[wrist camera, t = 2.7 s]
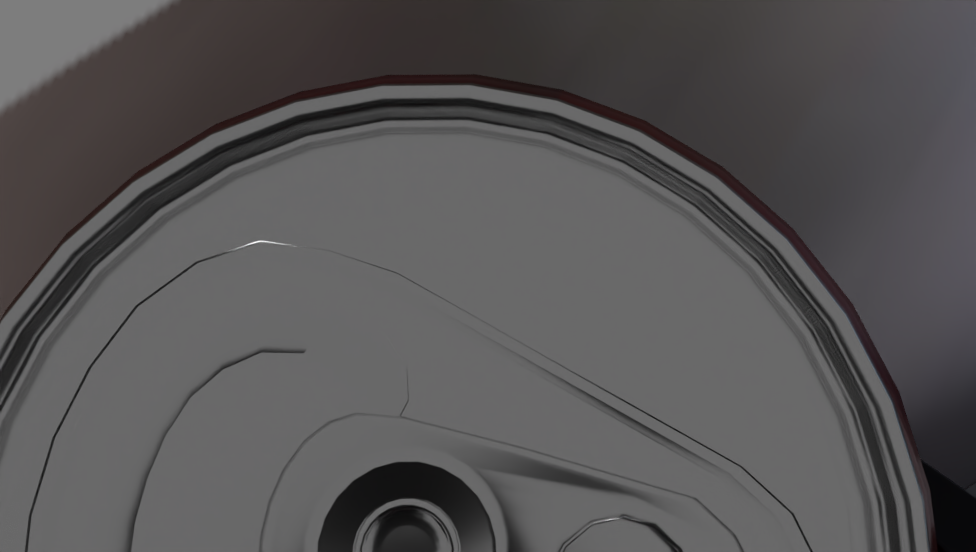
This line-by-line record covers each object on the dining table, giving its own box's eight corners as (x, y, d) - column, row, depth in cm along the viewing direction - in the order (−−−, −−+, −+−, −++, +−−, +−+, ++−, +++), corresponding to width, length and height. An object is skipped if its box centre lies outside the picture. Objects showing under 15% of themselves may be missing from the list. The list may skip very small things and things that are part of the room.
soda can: (260, 582, 16) (-384, 1012, 4) (366, 267, 17) (109, -73, 6) (586, 687, 16) (887, 1495, 4) (667, 355, 17) (1071, 186, 5)
